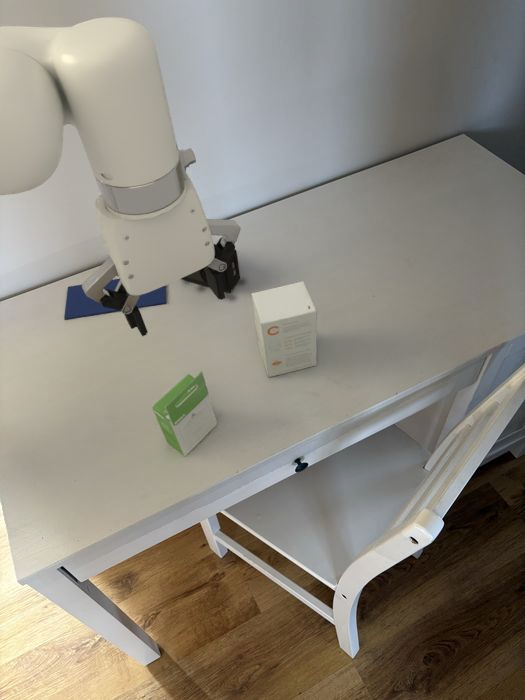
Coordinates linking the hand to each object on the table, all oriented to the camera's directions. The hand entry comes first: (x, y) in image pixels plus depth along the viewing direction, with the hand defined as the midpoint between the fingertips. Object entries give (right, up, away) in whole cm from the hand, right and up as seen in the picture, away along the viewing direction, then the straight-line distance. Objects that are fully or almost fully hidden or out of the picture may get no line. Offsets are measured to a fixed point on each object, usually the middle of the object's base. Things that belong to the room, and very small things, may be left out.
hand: (179, 309), depth 61 cm
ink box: (-1, -17, +17) cm, 24 cm away
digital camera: (0, +8, +37) cm, 38 cm away
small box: (+13, -6, +25) cm, 29 cm away
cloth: (-17, +5, +36) cm, 40 cm away
